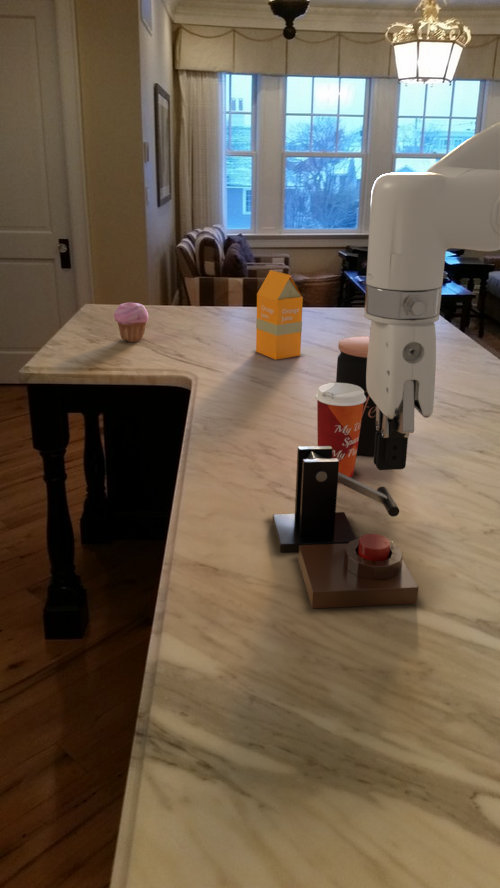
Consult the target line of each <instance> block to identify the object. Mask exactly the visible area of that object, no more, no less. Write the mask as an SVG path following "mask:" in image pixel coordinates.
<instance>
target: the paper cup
mask: <svg viewBox="0 0 500 888" xmlns="http://www.w3.org/2000/svg"><path fill="white" fill-rule="evenodd" d="M317 389H318V390H317V393H316V394H315V395H314V398H315V399H316V404H317V405H316V406H317V407H316V410H317V411H316V412H317V416H316V417H317V421H316V422H317V426H316V427H317V429H316V430H317V446H331V447H332V449H333V450H332V458H338V460H339V471H338V472H340V473H342V474H344V475H346V476H348V477H350V478H353V476H354V474H355V473H354V472H355V467H356V460H357V455H356V454H357V448H358V441H359V433H360V426H361V419H362V412H363V405H364V402H365V401H366V396H365V395H364V390H363V389H362V388H361V387H359V386H357V385H353V384H348V383H336V382H328V383H324V384H322V385H320V386H319V387H318V388H317Z"/></svg>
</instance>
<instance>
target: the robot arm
mask: <svg viewBox="0 0 500 888" xmlns="http://www.w3.org/2000/svg"><path fill="white" fill-rule="evenodd" d="M370 195H371V197H370V210H369V229H368V242H367V243H368V245H367V262H366V276H365V277H366V279H365V293H364V295H365V296H364V312H363V316H364V318H365V319H367V320H368V321H370V327H369V336H368V337H369V344H368V355H367V369H366V388H367V392H368V394H369V396H370V397H371V399H372V400H373V401H374V403H375V404H376V429H377V430H381V431H377V432H376V434H375V448H374V456H373V464H374V466H375V467H376V469H377V470H378V471H393V470H404V469H405V468H406V466H407V455H408V453H407V452H408V443H409V441H408V440H409V437H410V434H414V432H415V409H416V410H417V412H418V413H419V414H420V415H421V417H423V418H425V419H427V418H428V419H429V418H431V416H432V415H433V413H434V405H435V389H436V387H435V386H436V372H437V371H436V369H437V336H436V335H437V333H436V322H438V321H439V320H440V314H441V313H440V312H441V310H440V309H441V303H442V293H443V291H442V290H443V282H444V271H445V262H446V253H447V250H449V249H458V250H459V249H460V250H469V251H478V252H495V251H500V121H499V122H497V123H495V124H493V125H491V126H489V127H487V128H485V129H484V130H482V131H480V132H478V133H476V134H475V135H472V137H470V138H468V139H466V140H465V141H464V142H462V143H461V144H459V145H458V146H457V147H455V148H454V149H453V150H451V151H450V152H448V153H447V154H446V155H445V156H443V157H441V158H440V159H439V160H438V161H437V162H435V163H434V164H433V165H432V166H430V167H429V168H428V169H427V170H426V171H425V172H414V171H413V172H411V171H410V172H408V171H407V172H406V171H405V172H390V173H385V174H382V175H380V176H379V177H377V178H376V180H375V181H374V183H373V185H372V188H371V194H370Z"/></svg>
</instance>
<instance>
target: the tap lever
mask: <svg viewBox="0 0 500 888" xmlns="http://www.w3.org/2000/svg"><path fill="white" fill-rule="evenodd" d="M307 459H326V458H324V457H322V456H320V455H318V454H316V453H314V452H312V451H311V453H310V454H309V456H308V457H307ZM338 483H339V484H341V485H343V486H344V487H347V488H349V489H351V490H353V491H355V492H357V493H359V494H360V495H361V494H362V495H363V496H366V497H368V498H369V499H372V500H374V501H375V502H378V503H380V504H382V505H383V507H384V508H385V510H386V512H387V514H388V515H389V516H390V517H393V518H395V517H397V516H398V515H399V514H400V508H399V506H398V505H397V503H396V502H395V500H394V498H393V496H392V495H391V493H390V492H389V490H388V488H387V487H386V486H379V487H378V488H377V489H374V488H372V487H371V486H368V485H366V484H364V483H362V482H360V481H359V480H356V479H354V478H353V477H351V478H350V477H348V476H346V475H344V474H342V473H340V472H338Z"/></svg>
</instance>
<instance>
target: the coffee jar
mask: <svg viewBox="0 0 500 888" xmlns="http://www.w3.org/2000/svg"><path fill="white" fill-rule="evenodd" d="M368 344H369V336H368V335H367V336H352V337H351V336H350V337H346V338H342V339H340V340H339V341H338V350H339V354H338V355H337V359H336V360H337V361H336V377H335V383H348V384H353V385H357V386H359V387H361V388H362V389H363V390H364V395H365V396H366V401H365V402H364V405H363V412H362V419H361V426H360V433H359V441H358V448H357V454H356V456H363V457H374V448H375V434H376V432H377V431H381V430H377V429H376V404H375V403H374V401H373V400H372V399H371V397H370V396H369V394H368V392H367V388H366V369H367V355H368Z"/></svg>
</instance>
